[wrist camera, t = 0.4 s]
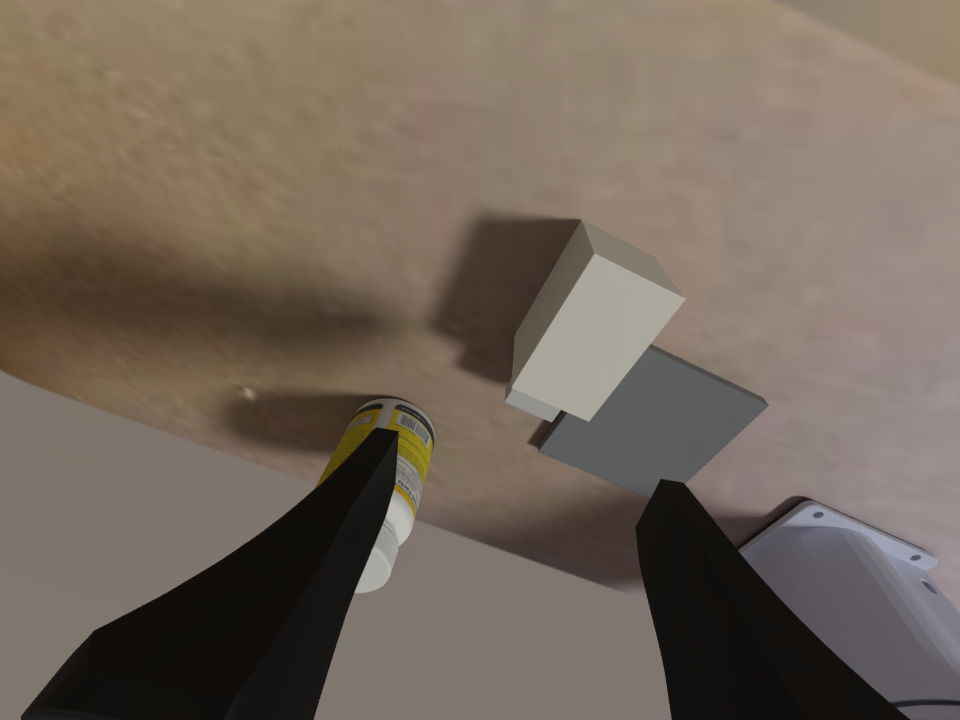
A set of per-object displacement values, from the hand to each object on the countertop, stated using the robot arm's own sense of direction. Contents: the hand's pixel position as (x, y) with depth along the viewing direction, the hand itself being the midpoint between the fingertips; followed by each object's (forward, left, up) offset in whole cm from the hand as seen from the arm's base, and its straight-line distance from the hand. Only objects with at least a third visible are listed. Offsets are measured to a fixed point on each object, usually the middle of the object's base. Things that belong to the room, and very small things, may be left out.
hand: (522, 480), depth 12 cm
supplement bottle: (+3, +9, -10) cm, 14 cm away
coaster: (-8, +2, -10) cm, 13 cm away
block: (-2, -2, -10) cm, 10 cm away
